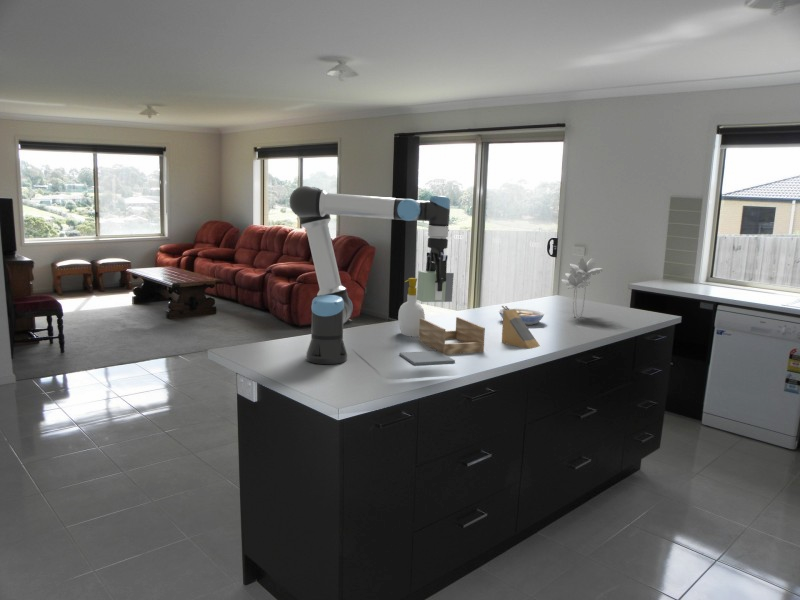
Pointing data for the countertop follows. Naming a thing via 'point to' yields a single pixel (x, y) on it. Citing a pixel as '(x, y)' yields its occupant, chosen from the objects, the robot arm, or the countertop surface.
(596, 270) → the flower bouquet
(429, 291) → the capped box
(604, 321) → the countertop surface
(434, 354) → the slate mat
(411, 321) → the soap bottle
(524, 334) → the sandwich container
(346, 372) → the countertop surface
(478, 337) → the wooden display shelf
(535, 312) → the ramen bowl
